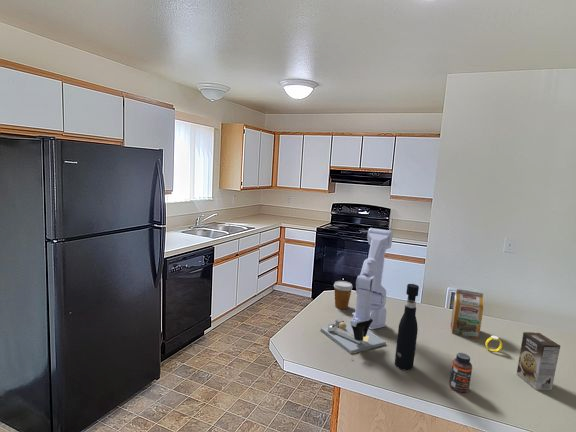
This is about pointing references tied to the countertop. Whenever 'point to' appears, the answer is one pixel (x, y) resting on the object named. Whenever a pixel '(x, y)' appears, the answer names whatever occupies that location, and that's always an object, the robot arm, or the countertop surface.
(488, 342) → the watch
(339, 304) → the disposable coffee cup
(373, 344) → the base
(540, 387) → the brown food box
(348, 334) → the lever
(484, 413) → the countertop surface
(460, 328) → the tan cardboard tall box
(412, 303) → the black water bottle
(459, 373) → the supplement bottle
